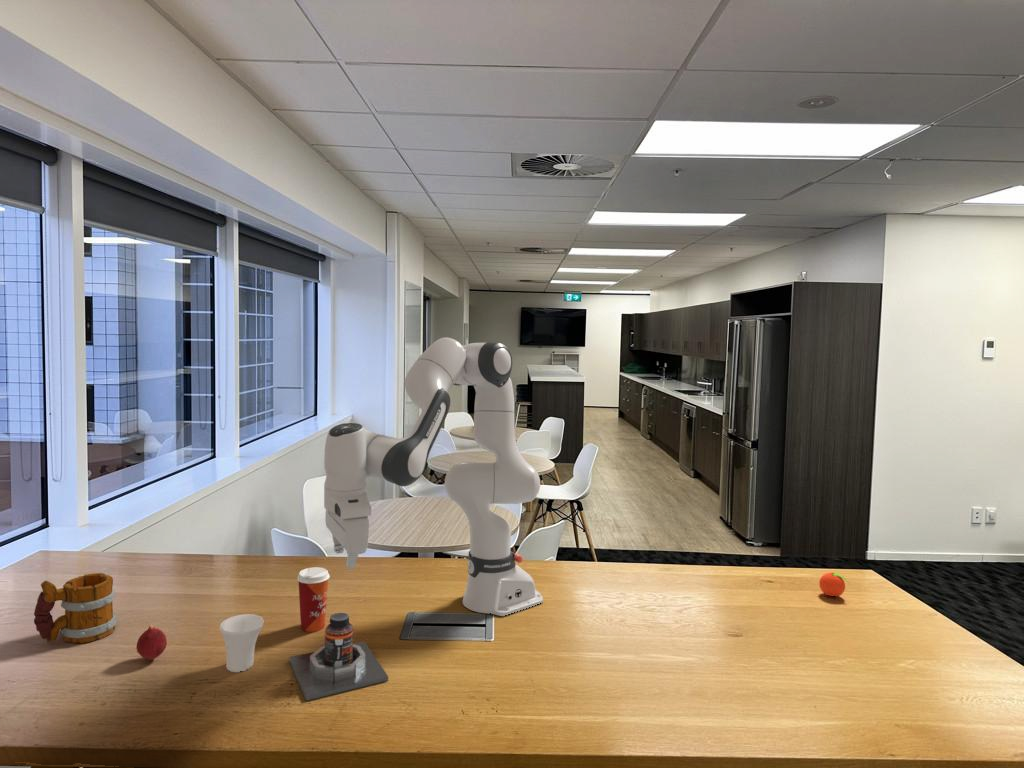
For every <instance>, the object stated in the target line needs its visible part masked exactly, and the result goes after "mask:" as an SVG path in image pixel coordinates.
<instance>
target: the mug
mask: <svg viewBox="0 0 1024 768" xmlns="http://www.w3.org/2000/svg"><path fill="white" fill-rule="evenodd" d="M113 583H114V578H113V576H111V575H110V574H105V573H102V572H92V573H87V574H84V575H81V576H77V577H74V578H72V579H69V580H67V581H66V582H64V584H63V585H62V588H57V587H56V585H55V584H54V583H52V582H50V581H49V580H44V581H42V583H40V587H41V589H42V591H40V593H39V595H38V597H37V600H36V604H35V608H34V613H33V616H34V619H33V623H34V624H35V627H36V631H37V632H39V635H40V637H41V638H42V640H46V642H47V643H52V642H54V641H56V639H57V638H58V635H59V632H60V634H62V639H63V640H64V641H65V642H66V643H71V644H78V643H79V644H84V643H92V642H95V641H97V640H102V639H105V638H107V637H109V636H110V635H112V634H113V633H114V631H115V629H116V623H117V618H118V617H117V615H116V613H114V610H113V609H114V608H113V604H114V603H113V601H114V600H115V595H116V590H114V589H113ZM57 601H61V603H60V607H61V608H63V609H64V614H63V615H61V616H59V617H57V618H56V619H55V620H54V618H53V615H52V614H51V611H52V610H53V609H54V606H55V604H56V602H57Z"/></svg>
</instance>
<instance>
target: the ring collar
mask: <svg viewBox="0 0 1024 768" xmlns="http://www.w3.org/2000/svg"><path fill="white" fill-rule="evenodd" d="M352 657H353V658H352V664H347V665H343V666H339V667H330V666H325V665H324V660H325V645H322V646H319V648H317V649H316V650H315V651H312V652H308V653H303V654H299V655H294V656H290V657H288V658H289V660H288V662H289V664H290V667H291V669H292V671H293V673H294V675H295V678H296V680H297V682H298V684H299V689H300V690H301V692H302V695H303V696H304V699H305V701H306V702H308V701H313V700H317V699H320V698H321V699H322V698H324V697H328V696H333V695H337V694H341V693H345V692H348V691H353V690H358V689H361V688H364V687H369V686H373V685H376V684H381V683H385V682H388V681H389V676H388V674H387V672H386V671H385V669H384V668H383V667H382V665H381V664H380V662H379V661H378V659H377V657H376V656H375V655H374V653H373V652H372V650H371V648H370V647H369V645H368V644H367V643H366V641H358V642H353V655H352Z"/></svg>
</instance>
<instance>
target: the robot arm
mask: <svg viewBox="0 0 1024 768" xmlns="http://www.w3.org/2000/svg"><path fill="white" fill-rule="evenodd" d="M512 368H513V356H512V354H511V352H510V350H509V348H508V347H507V346H506V345H505V344H503V343H501V342H496V341H488V342H472V343H471V342H470V343H468V344H463V345H462V344H461V342H459V341H458V340H456V339H454V338H451V337H441V338H438V339H437V340H435V341H434V342H433V343H432V344H431V345H429V346H428V347H427V348H426V349H425V350H424V352H422V354H421V355H419V357H418V358H417V359H416V360H415V362H414V363H413V364H412V366H410V368H409V370H408V371H407V373H406V376H405V378H404V388H405V392H406V394H407V396H408V398H409V399H410V400H411V401H412V403H413V404H414V405H415V406H416V407H418V408H419V409H420V410H421V412H420V414H419V416H418V418H417V420H416V422H415V424H414V426H413V428H412V430H411V432H410V434H408V435H407V436H405V437H400V438H397V437H394V436H393V437H392V436H388V435H384V434H379V433H376V432H373V431H370V430H368V429H367V428H365V427H364V426H363V425H362V424H360V423H357V422H348V423H341V424H338V425H334V426H333V427H331V428H330V429H329V431H328V433H327V435H326V439H325V445H324V458H323V459H324V460H323V461H324V462H323V466H324V470H325V481H324V486H323V497H324V498H323V503H324V504H323V507H324V509H325V521H324V522H325V526H326V527H325V528H327V529H328V530H329V533H331V536H332V540H333V541H332V542H333V552H335V554H337V555H338V554H343V553H344V550H345V551H346V553H347V555H346V556H347V558H346V559H345V566H346V568H347V569H348V570H352V569H356V568H357V560H358V556H359V555H361V554H365V553H366V552H367V549H368V546H369V545H368V544H369V533H370V520H369V517H371V515H372V506H371V504H370V501H369V500H368V493H367V481H366V479H367V478H368V477H372V478H375V479H378V480H383V481H386V482H389V483H392V484H394V485H396V486H399V487H408V486H410V485H412V484H414V483H415V482H417V481H418V480H420V478H421V476H422V475H423V473H424V472H425V469H426V466H427V462H428V458H429V455H430V452H431V451H432V448H433V446H434V444H435V442H436V440H437V438H438V436H439V433H440V431H441V429H442V428H443V426H444V423H445V420H446V418H447V416H448V413H449V412H450V407H451V396H450V395H449V393H450V391H452V390H451V389H452V388H453V386H473V388H474V390H475V398H474V407H473V408H474V410H473V411H474V412H473V439H474V441H475V442H476V444H477V445H479V447H481V448H483V449H485V450H487V451H489V452H490V453H492V454H494V455H493V456H494V457H495V459H496V461H495V462H466V463H459V464H455V465H452V466H451V467H450V468H449V470H448V471H447V472H446V475H445V479H444V488H445V491H446V492H445V493H446V494H447V496H448V497H449V499H450V500H451V501H453V503H455V504H457V505H458V507H460V508H461V510H462V511H463V513H464V514H465V517H466V519H467V521H468V527H469V540H470V541H469V543H470V544H469V551H468V556H467V572H468V577H467V582H466V587H465V591H464V594H463V598H462V605H463V606H464V608H465V607H466V608H467V609H468V610H470V611H473V612H477V613H480V614H489V615H490V613H491V615H495V616H499V617H506V616H505V615H507V616H509V615H508V614H510V615H512V614H511V613H513V614H515V613H517V611H518V612H521V611H523V609H524V610H527V609H529V607H530V608H533V607H535V605H536V606H538V605H537V604H539V605H540V603H541V604H543V603H544V598H543V595H542V594H541V593H540V591H538V590H537V589H536V585H535V581H534V579H533V577H532V575H530V574H529V573H528V572H527V571H525V570H524V569H523V568H521V567H520V566H519V565H518V564H521V563H522V561H524V557H523V556H522V555H521V554H519V553H516V552H514V551H512V550H511V548H512V547H511V546H512V544H511V543H512V528H511V524H510V523H509V521H508V520H507V519H506V518H504V517H503V516H501V515H499V514H497V513H495V512H493V511H492V510H491V508H489V507H490V505H495V504H496V505H499V504H500V505H509V504H510V505H519V504H524V503H529V502H533V501H534V500H535V499H536V497H537V496H538V494H539V492H540V488H541V478H540V476H539V473H538V471H537V470H536V468H535V467H533V465H531V464H530V463H529V462H528V461H527V460H526V459H525V458H524V457H523V455H522V453H521V452H520V450H519V448H518V444H517V440H516V432H515V430H516V429H515V396H514V395H515V394H514V393H515V392H514V387H513V382H512V381H513V380H512V379H511V377H510V376H511V374H512V373H511V372H512ZM516 563H518V564H516ZM542 602H543V603H542ZM532 606H533V607H532ZM526 608H527V609H526ZM520 610H521V611H520ZM514 612H515V613H514Z"/></svg>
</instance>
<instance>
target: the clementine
mask: <svg viewBox="0 0 1024 768" xmlns="http://www.w3.org/2000/svg"><path fill="white" fill-rule="evenodd" d="M818 582H819V589H820V590H821V592H822V593H823V594H824V595H826V596H827V595H829V596H828V597H830V596H836V597H835V598H838V597H840V596H841V595H843V594H844V592H845V590H846V583H845V582H847V583H848V585H849V586H850V583H849V581H848V579H847V578H845V577H844V576H842V575H841V574H839V573H835V572H827V573H823V575H822V576H821V577H820V579H819V581H818ZM837 596H838V597H837Z"/></svg>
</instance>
